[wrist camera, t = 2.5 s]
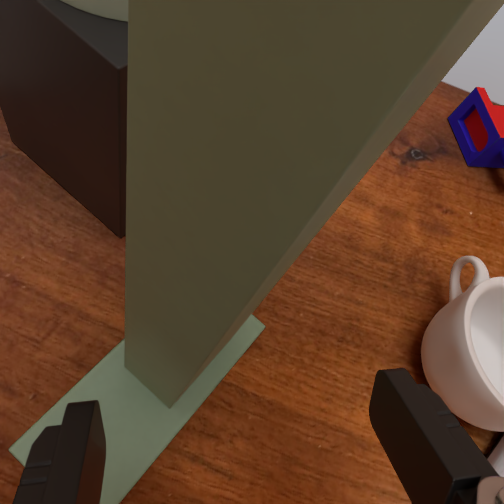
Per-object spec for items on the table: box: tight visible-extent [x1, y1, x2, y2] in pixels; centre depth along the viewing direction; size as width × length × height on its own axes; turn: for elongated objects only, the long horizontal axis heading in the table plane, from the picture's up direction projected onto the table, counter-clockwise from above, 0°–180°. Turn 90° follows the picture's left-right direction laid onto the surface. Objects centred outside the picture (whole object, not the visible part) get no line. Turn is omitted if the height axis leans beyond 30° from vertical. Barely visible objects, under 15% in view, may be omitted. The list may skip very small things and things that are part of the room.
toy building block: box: [448, 87, 504, 168], centre depth 35 cm, size 4×4×8 cm
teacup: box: [421, 256, 504, 432], centre depth 24 cm, size 10×8×5 cm
